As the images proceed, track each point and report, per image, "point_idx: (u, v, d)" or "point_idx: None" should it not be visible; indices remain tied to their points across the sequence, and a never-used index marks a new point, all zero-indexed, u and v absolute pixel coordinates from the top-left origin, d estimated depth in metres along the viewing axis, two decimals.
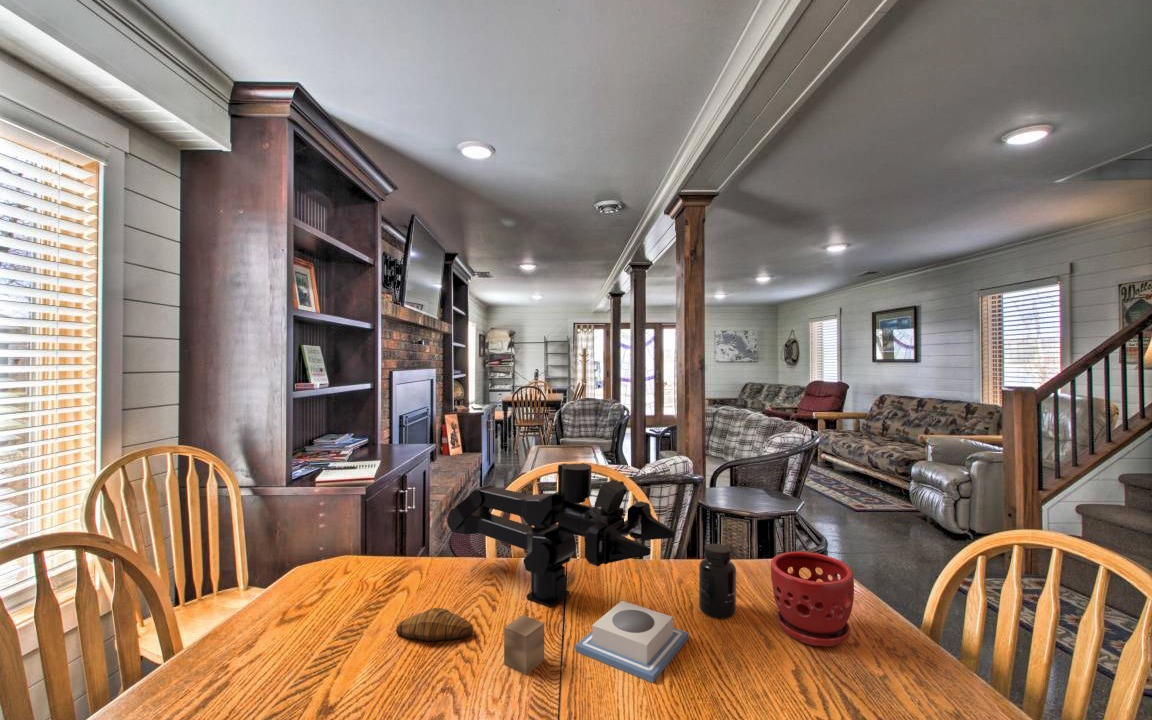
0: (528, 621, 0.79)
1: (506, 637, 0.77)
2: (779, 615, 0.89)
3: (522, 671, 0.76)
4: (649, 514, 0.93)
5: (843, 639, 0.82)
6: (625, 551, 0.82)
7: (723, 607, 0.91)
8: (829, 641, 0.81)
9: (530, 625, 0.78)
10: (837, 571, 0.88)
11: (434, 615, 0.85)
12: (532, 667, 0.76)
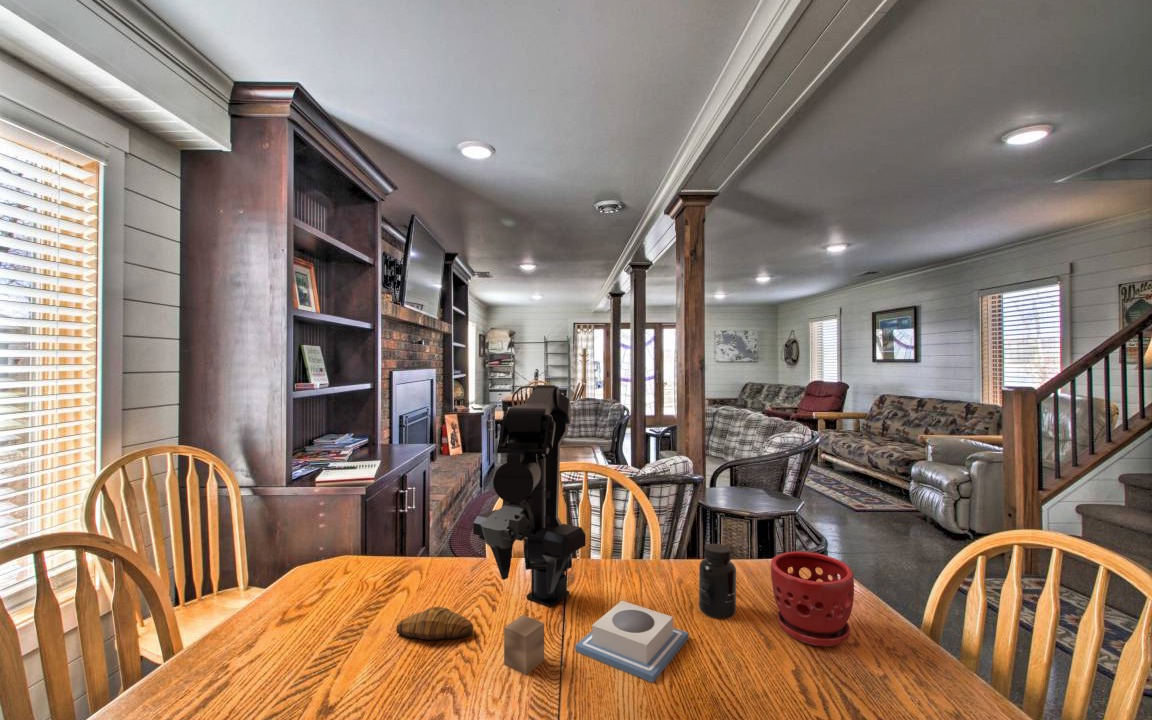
0: (527, 621, 0.79)
1: (506, 637, 0.77)
2: (779, 615, 0.89)
3: (522, 671, 0.76)
4: (551, 561, 0.73)
5: (843, 639, 0.82)
6: None
7: (723, 607, 0.91)
8: (829, 641, 0.81)
9: (530, 625, 0.78)
10: (837, 571, 0.88)
11: (434, 613, 0.85)
12: (532, 667, 0.76)
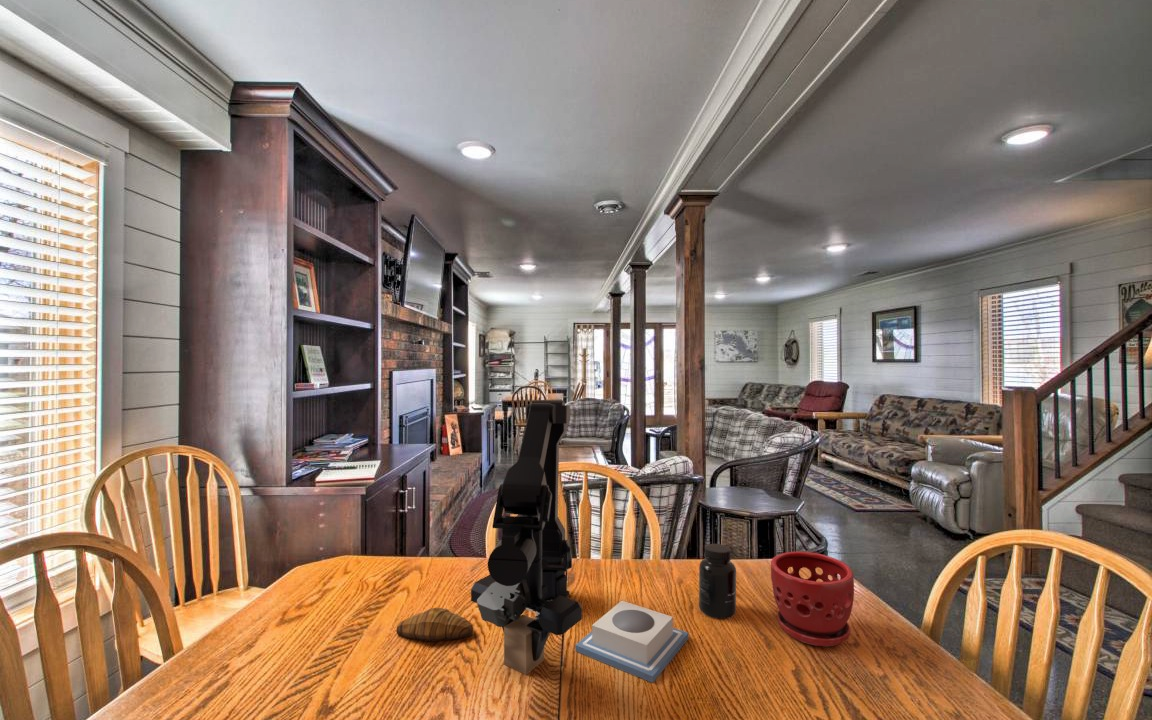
0: (527, 620, 0.79)
1: (506, 637, 0.77)
2: (779, 615, 0.89)
3: (522, 671, 0.76)
4: (535, 632, 0.74)
5: (843, 639, 0.82)
6: None
7: (723, 607, 0.91)
8: (829, 641, 0.81)
9: None
10: (837, 571, 0.88)
11: (434, 614, 0.85)
12: (532, 667, 0.76)
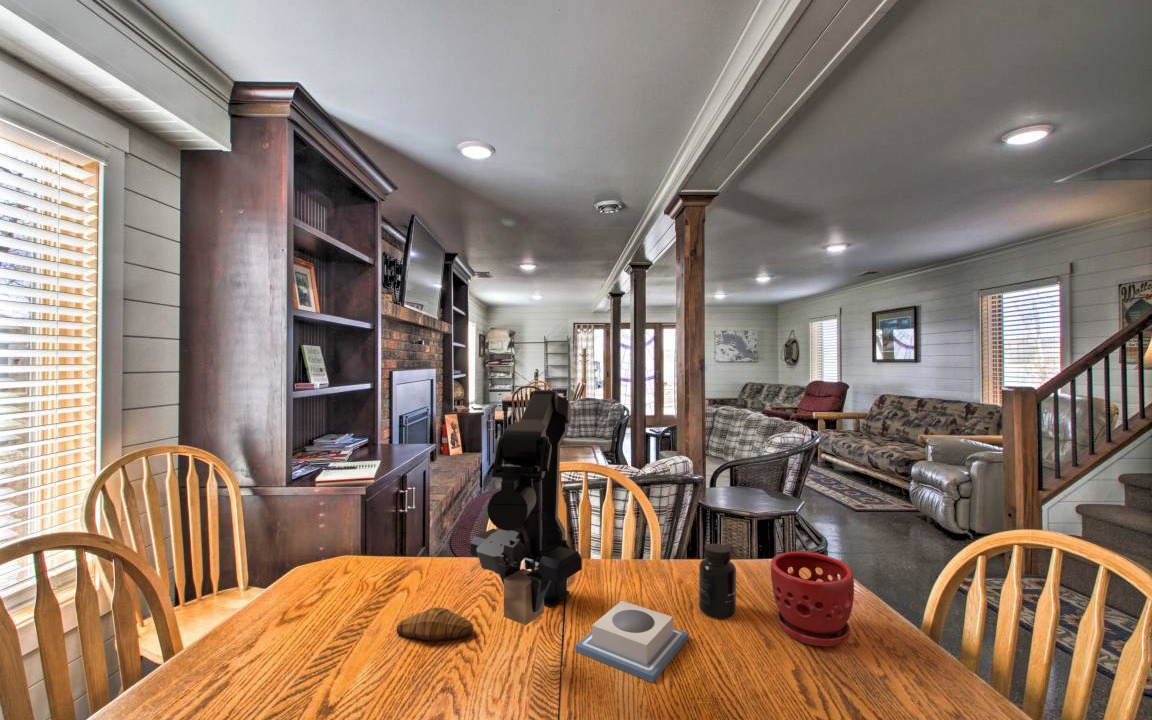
0: (527, 573, 0.79)
1: (506, 588, 0.77)
2: (779, 615, 0.89)
3: (522, 621, 0.75)
4: (535, 581, 0.74)
5: (843, 639, 0.82)
6: None
7: (723, 607, 0.91)
8: (829, 641, 0.81)
9: None
10: (837, 571, 0.88)
11: (434, 614, 0.85)
12: (532, 618, 0.76)
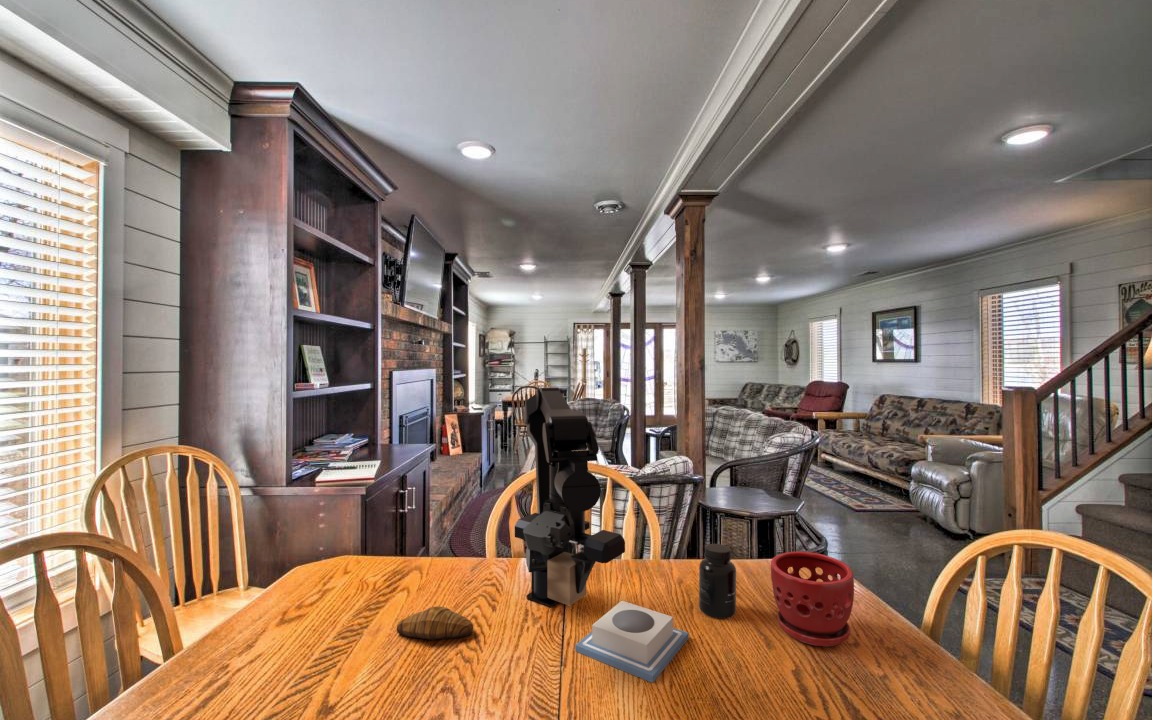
0: (570, 556, 0.81)
1: (549, 570, 0.79)
2: (779, 615, 0.89)
3: (566, 602, 0.77)
4: (580, 563, 0.76)
5: (843, 639, 0.82)
6: None
7: (723, 607, 0.91)
8: (829, 641, 0.81)
9: None
10: (837, 571, 0.88)
11: (434, 613, 0.85)
12: (575, 599, 0.78)
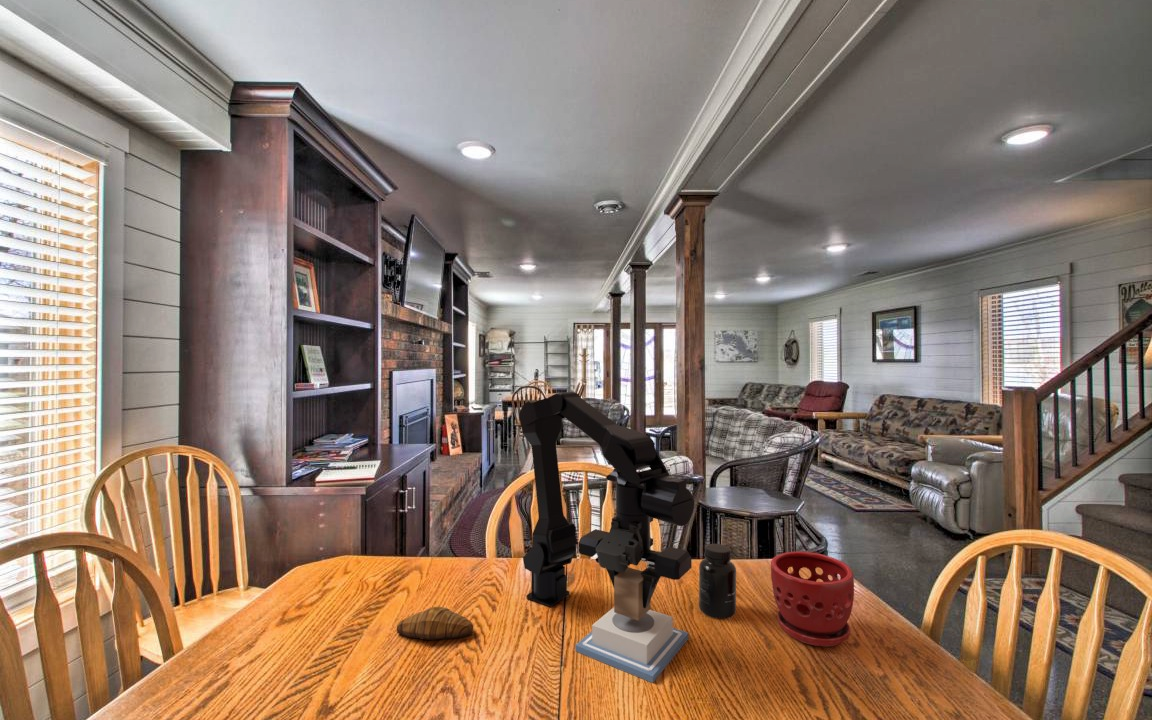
0: (634, 571, 0.84)
1: (616, 586, 0.82)
2: (779, 615, 0.89)
3: (634, 616, 0.80)
4: (648, 579, 0.79)
5: (843, 639, 0.82)
6: None
7: (723, 607, 0.91)
8: (829, 641, 0.81)
9: (639, 575, 0.83)
10: (837, 571, 0.88)
11: (434, 613, 0.85)
12: (642, 613, 0.81)
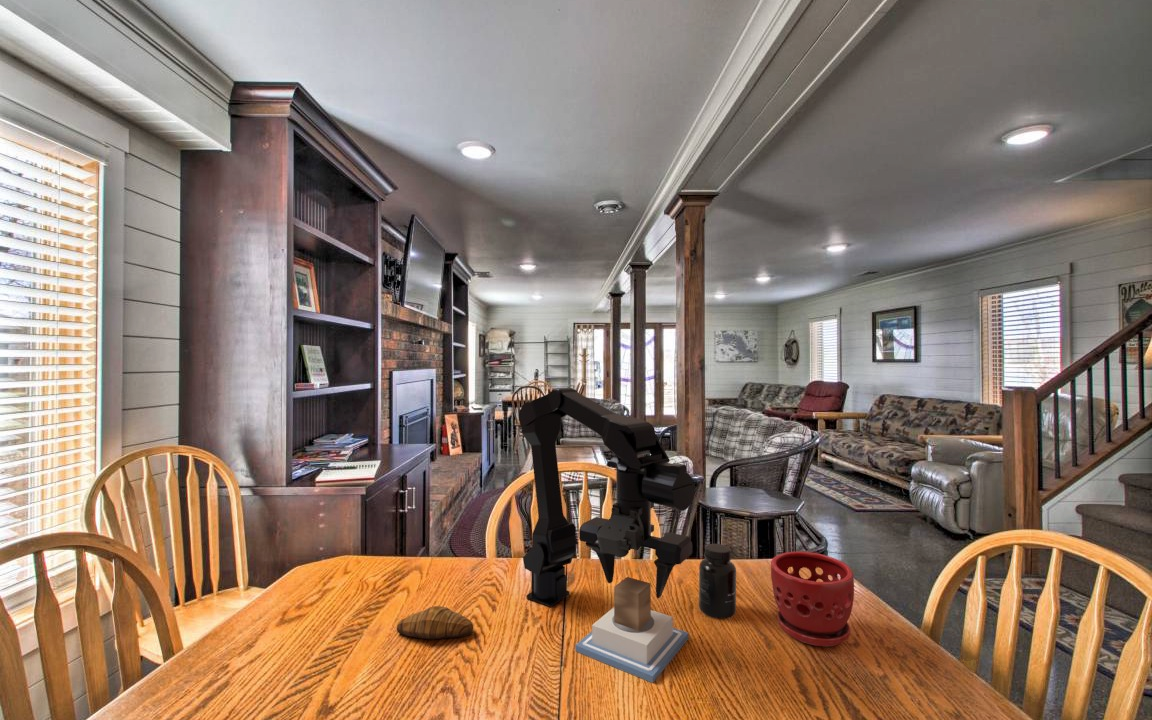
0: (634, 581, 0.84)
1: (616, 596, 0.82)
2: (779, 615, 0.89)
3: (634, 627, 0.80)
4: (662, 568, 0.78)
5: (843, 639, 0.82)
6: None
7: (723, 607, 0.91)
8: (829, 641, 0.81)
9: (639, 585, 0.83)
10: (837, 571, 0.88)
11: (434, 613, 0.85)
12: (642, 624, 0.81)
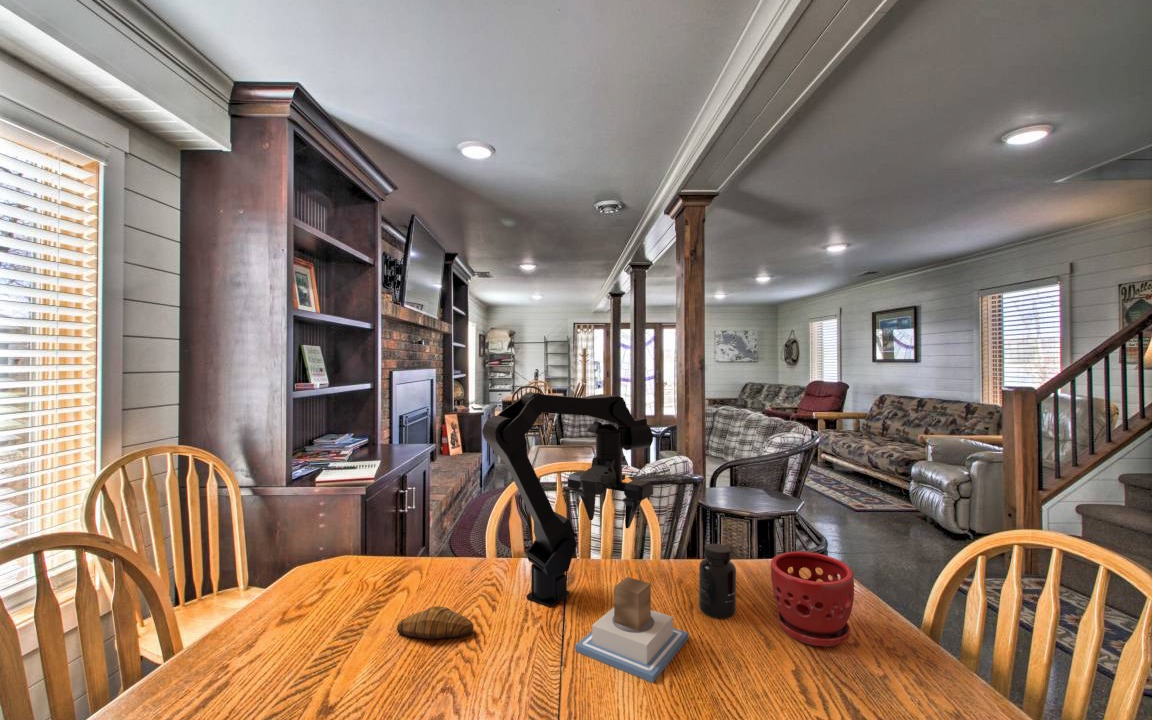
0: (634, 581, 0.84)
1: (616, 596, 0.82)
2: (779, 615, 0.89)
3: (634, 627, 0.80)
4: (629, 504, 1.02)
5: (843, 639, 0.82)
6: None
7: (723, 607, 0.91)
8: (829, 641, 0.81)
9: (639, 585, 0.83)
10: (837, 571, 0.88)
11: (435, 613, 0.85)
12: (642, 624, 0.81)
